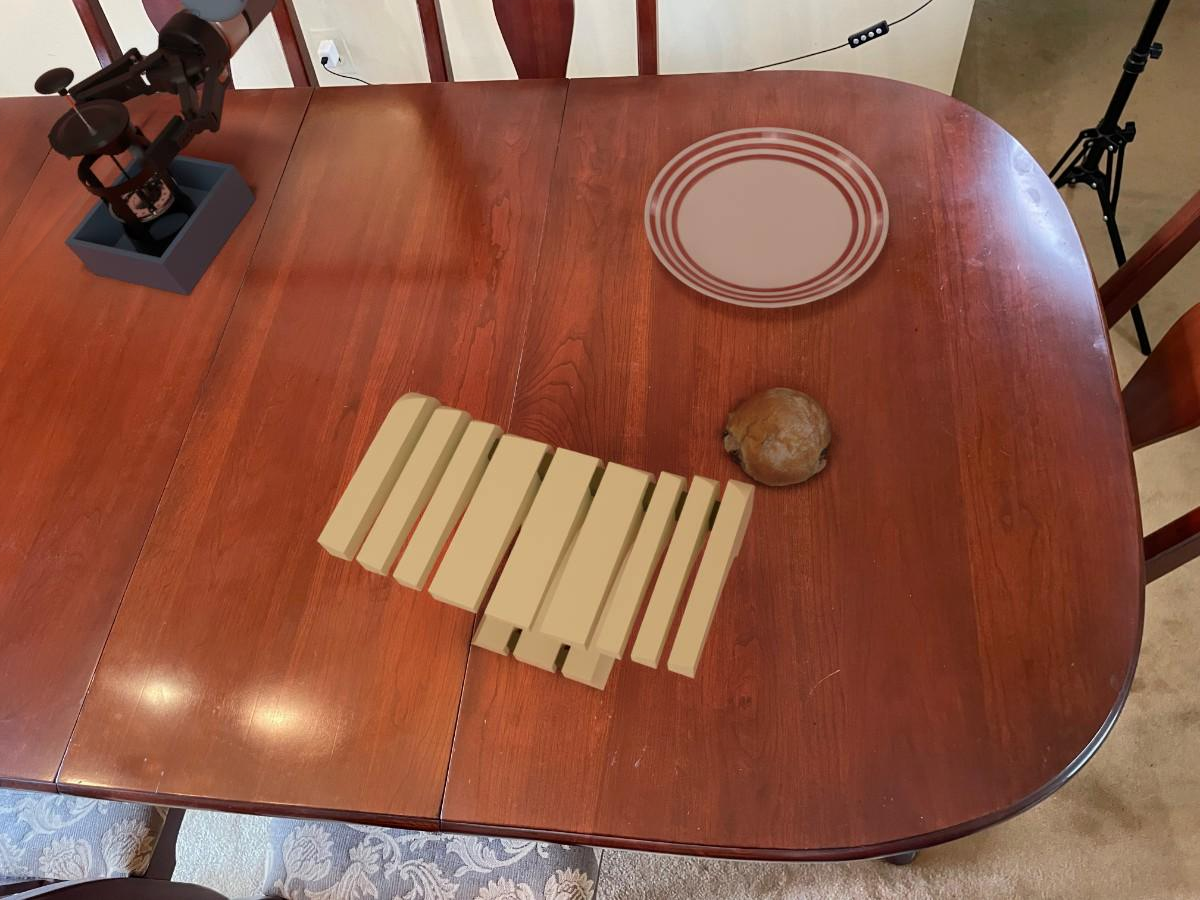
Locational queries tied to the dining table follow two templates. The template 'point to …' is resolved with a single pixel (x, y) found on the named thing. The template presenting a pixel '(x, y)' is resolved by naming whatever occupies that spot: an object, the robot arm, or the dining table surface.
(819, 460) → the bread roll
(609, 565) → the slatted curved stool
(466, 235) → the dining table surface
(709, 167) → the dinner plate
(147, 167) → the french press
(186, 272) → the open box
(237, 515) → the dining table surface
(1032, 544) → the dining table surface
